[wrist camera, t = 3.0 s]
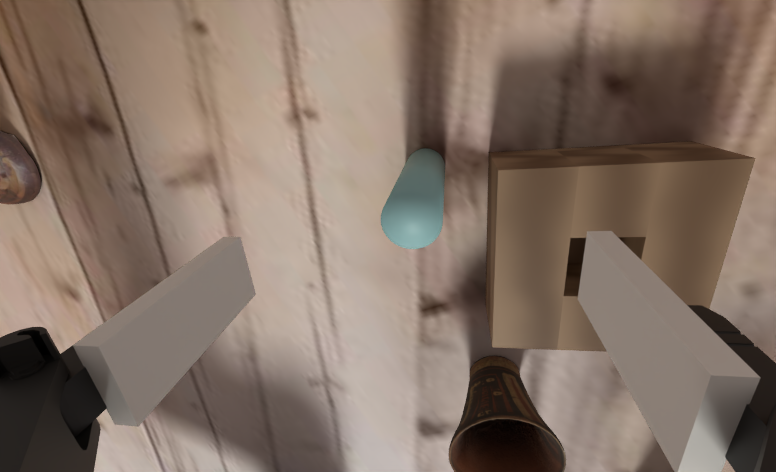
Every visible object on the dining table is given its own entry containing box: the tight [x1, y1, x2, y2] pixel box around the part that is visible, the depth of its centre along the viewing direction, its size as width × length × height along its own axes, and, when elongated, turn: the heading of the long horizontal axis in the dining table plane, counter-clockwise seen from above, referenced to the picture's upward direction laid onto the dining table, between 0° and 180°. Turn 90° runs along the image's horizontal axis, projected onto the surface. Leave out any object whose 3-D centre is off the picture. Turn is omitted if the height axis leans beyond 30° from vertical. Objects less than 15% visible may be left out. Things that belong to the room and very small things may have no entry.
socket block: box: [485, 141, 755, 351], centre depth 27 cm, size 14×14×6 cm
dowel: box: [381, 148, 445, 249], centre depth 24 cm, size 3×3×12 cm
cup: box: [449, 356, 566, 472], centre depth 33 cm, size 9×9×10 cm
